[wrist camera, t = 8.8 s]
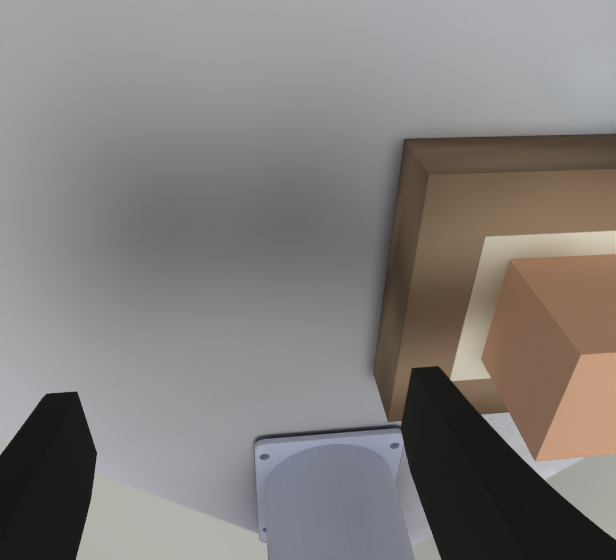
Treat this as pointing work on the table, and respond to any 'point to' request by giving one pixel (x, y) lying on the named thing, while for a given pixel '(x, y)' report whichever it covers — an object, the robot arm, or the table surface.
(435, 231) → the plinth
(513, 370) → the cube
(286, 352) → the table surface
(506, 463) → the robot arm
